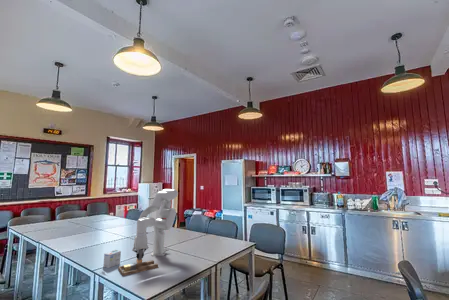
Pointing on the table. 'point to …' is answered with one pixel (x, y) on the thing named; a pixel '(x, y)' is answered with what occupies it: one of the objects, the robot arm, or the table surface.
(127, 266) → the tan yellow cube
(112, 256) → the light bulb box
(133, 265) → the dark gray cube
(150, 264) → the slot board
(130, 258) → the table surface
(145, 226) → the robot arm
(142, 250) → the gray orange block
